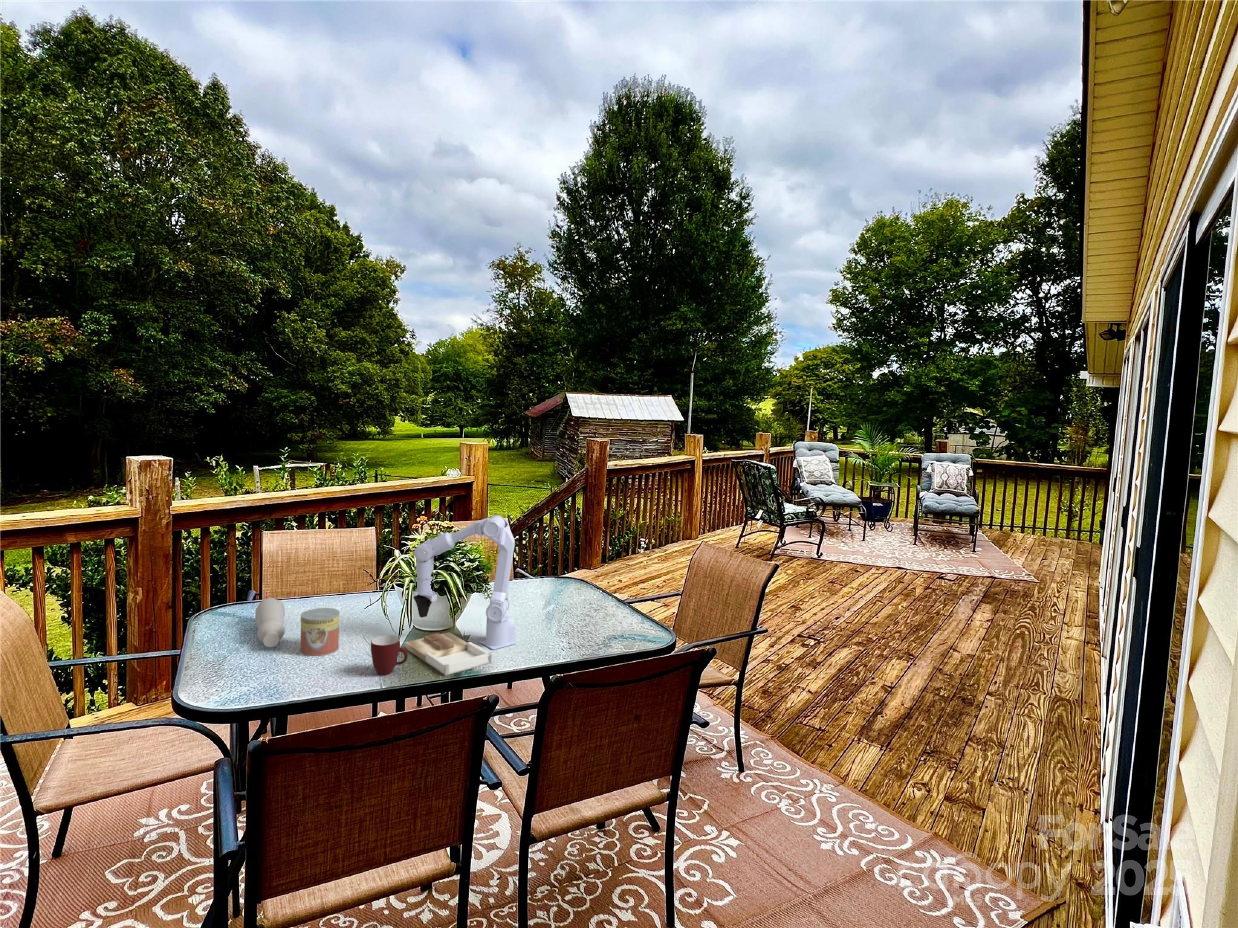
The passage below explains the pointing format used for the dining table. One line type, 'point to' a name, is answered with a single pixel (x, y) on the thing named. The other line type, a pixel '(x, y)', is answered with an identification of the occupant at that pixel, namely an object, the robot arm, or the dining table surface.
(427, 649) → the board
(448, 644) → the tile
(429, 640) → the tile
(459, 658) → the tray
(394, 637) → the mug
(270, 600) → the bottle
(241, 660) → the dining table surface
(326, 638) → the canned food
